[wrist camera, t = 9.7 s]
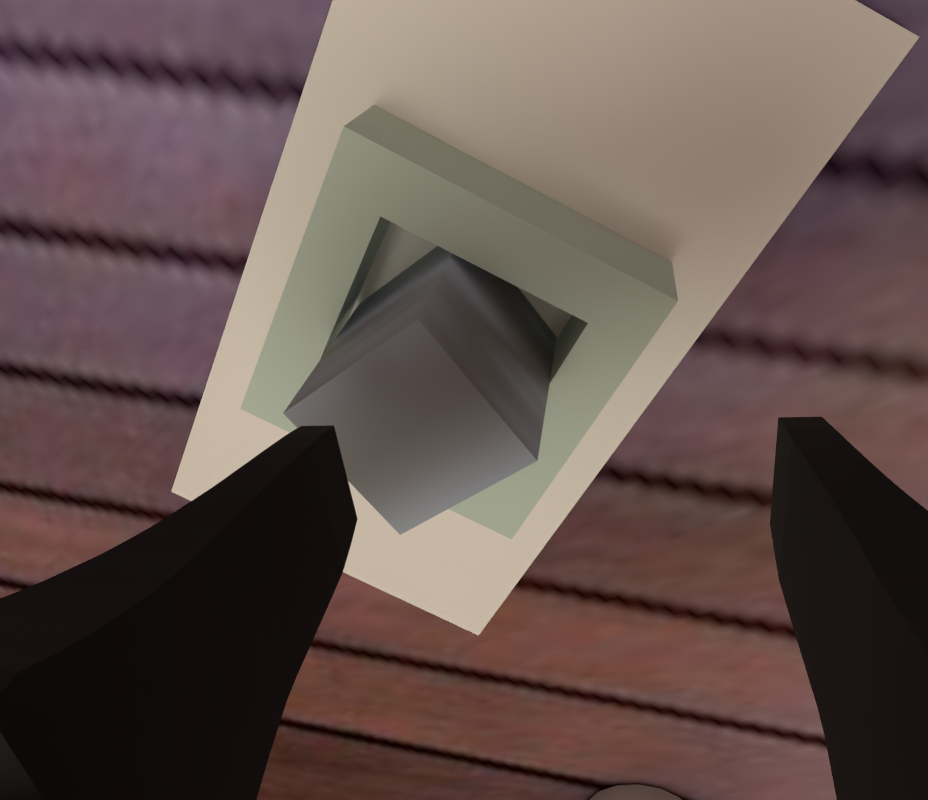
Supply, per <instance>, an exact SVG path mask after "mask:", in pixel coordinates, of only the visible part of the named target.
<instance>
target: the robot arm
mask: <svg viewBox="0 0 928 800" xmlns="http://www.w3.org/2000/svg"><path fill="white" fill-rule="evenodd" d="M357 520H358V519H357V515H356V511H355V507H354V503H353V499H352V495H351V491H350V487H349V483H348V479H347V475H346V471H345V467H344V463H343V459H342V455H341V451H340V447H339V443H338V439H337V435H336V431H335V427H334V425H327V426H300V427H299V428H297V429H295V430H293V431H292V432H290V433H289V434H287V435H285V436H284V437H283V438H281V439H280V440H278V441H277V442H275V443H274V444H272V445H271V446H270V447H268V448H267V449H265V450H264V451H263V452H261V453H260V454H258V455H257V456H256V457H254V458H253V459H251V460H250V461H249V462H247V463H246V464H244V465H243V466H242V467H240V468H239V469H237V470H236V471H235V472H233V473H232V474H230V475H229V476H228V477H226V478H225V479H223V480H222V481H221V482H219V483H218V484H216V485H215V486H214V487H212V488H211V489H209V490H208V491H206V492H205V493H203V494H201V495H200V496H198V497H197V498H195V499H194V500H192V501H191V502H189V503H188V504H186V505H185V506H183V507H182V508H180V509H179V510H177V511H176V512H174V513H173V514H171V515H170V516H168V517H166V518H165V519H163V520H162V521H160V522H158V523H157V524H155V525H153V526H152V527H150V528H148V529H147V530H145V531H143V532H141V533H140V534H138V535H136V536H134V537H132V538H131V539H129V540H127V541H125V542H123V543H121V544H120V545H118V546H116V547H114V548H112V549H110V550H108V551H106V552H105V553H103V554H101V555H99V556H97V557H94V558H92V559H90V560H88V561H86V562H84V563H82V564H79V565H77V566H75V567H73V568H71V569H69V570H67V571H64V572H62V573H60V574H58V575H56V576H54V577H51V578H49V579H47V580H45V581H43V582H40V583H38V584H36V585H33V586H31V587H28V588H26V589H23V590H21V591H18V592H16V593H13V594H11V595H8V596H6V597H3V598H0V800H256V799H257V795H258V792H259V789H260V785H261V782H262V778H263V775H264V771H265V768H266V764H267V761H268V758H269V754H270V751H271V748H272V745H273V742H274V739H275V736H276V732H277V729H278V726H279V723H280V720H281V717H282V714H283V711H284V708H285V704H286V702H287V699H288V696H289V694H290V691H291V689H292V686H293V684H294V681H295V679H296V676H297V674H298V672H299V669H300V667H301V665H302V663H303V661H304V658H305V656H306V654H307V652H308V649H309V647H310V645H311V643H312V640H313V638H314V636H315V634H316V632H317V629H318V627H319V625H320V623H321V620H322V618H323V616H324V614H325V611H326V609H327V607H328V605H329V602H330V600H331V598H332V595H333V593H334V591H335V589H336V586H337V584H338V582H339V579H340V577H341V575H342V572H343V570H344V567H345V563H346V560H347V557H348V553H349V550H350V546H351V543H352V539H353V535H354V531H355V527H356V523H357ZM770 526H771V532H772V539H773V545H774V552H775V558H776V564H777V570H778V576H779V581H780V584H781V588H782V591H783V595H784V598H785V601H786V605H787V608H788V612H789V615H790V618H791V622H792V625H793V628H794V631H795V635H796V638H797V641H798V645H799V648H800V651H801V654H802V658H803V661H804V664H805V668H806V671H807V674H808V677H809V681H810V684H811V687H812V691H813V694H814V697H815V700H816V704H817V707H818V711H819V715H820V719H821V723H822V727H823V731H824V734H825V739H826V744H827V750H828V755H829V760H830V765H831V771H832V776H833V781H834V786H835V792H836V797H837V800H928V511H927V510H926V509H925V508H924V507H922V506H921V505H920V504H919V503H917V502H916V501H915V500H914V499H912V498H911V497H910V496H909V495H907V494H906V493H905V492H904V491H903V490H901V489H900V488H899V487H898V486H897V485H896V484H894V483H893V482H892V481H891V480H890V479H889V478H887V477H886V476H885V475H884V474H883V473H882V472H881V471H879V470H878V469H877V468H876V467H875V466H874V465H873V464H872V463H871V462H870V461H868V460H867V459H866V458H865V457H864V456H863V455H862V454H861V453H860V452H859V451H858V450H857V449H856V448H854V447H853V446H852V445H851V444H850V443H849V442H848V441H847V440H846V439H845V438H844V437H843V436H842V435H841V434H840V433H839V432H837V431H836V430H835V429H834V428H833V427H832V426H831V425H830V424H829V423H828V422H827V421H826V420H825V419H823V418H822V417H784V418H778V430H777V443H776V456H775V468H774V481H773V493H772V506H771V518H770Z"/></svg>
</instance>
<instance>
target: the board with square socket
mask: <svg viewBox="0 0 928 800" xmlns="http://www.w3.org/2000/svg"><path fill="white" fill-rule="evenodd" d="M918 38H919V36H917V35H915V34H913V33H912V32H910V31H908V30H906V29H905V28H903V27H901V26H899V25H898V24H896V23H894V22H893V21H891V20H889V19H887V18H886V17H884V16H882V15H880V14H879V13H877V12H875V11H873V10H872V9H870V8H868V7H866V6H865V5H863V4H861V3H859V2H858V1H856V0H333V1H332V4H331V7H330V10H329V13H328V16H327V19H326V22H325V25H324V28H323V31H322V34H321V38H320V41H319V44H318V47H317V50H316V53H315V56H314V59H313V62H312V65H311V68H310V71H309V74H308V77H307V80H306V83H305V86H304V89H303V92H302V95H301V98H300V101H299V105H298V108H297V111H296V114H295V117H294V120H293V123H292V126H291V129H290V132H289V135H288V138H287V141H286V144H285V147H284V150H283V153H282V156H281V159H280V162H279V165H278V168H277V171H276V175H275V178H274V181H273V184H272V187H271V190H270V193H269V196H268V199H267V202H266V205H265V208H264V211H263V214H262V217H261V220H260V223H259V226H258V229H257V232H256V235H255V238H254V242H253V245H252V248H251V251H250V254H249V257H248V260H247V263H246V266H245V269H244V272H243V275H242V278H241V281H240V284H239V287H238V290H237V293H236V296H235V299H234V302H233V305H232V308H231V312H230V315H229V318H228V321H227V324H226V327H225V330H224V333H223V336H222V339H221V342H220V345H219V348H218V351H217V354H216V357H215V360H214V363H213V366H212V369H211V372H210V375H209V379H208V382H207V385H206V388H205V391H204V394H203V397H202V400H201V403H200V406H199V409H198V412H197V415H196V418H195V421H194V424H193V427H192V430H191V433H190V436H189V439H188V442H187V446H186V449H185V452H184V455H183V458H182V461H181V464H180V467H179V470H178V473H177V476H176V479H175V482H174V485H173V488H172V491H171V492H173V493H175V494H177V495H179V496H182V497H184V498H186V499H188V500H190V501H192V500H194V499H195V498H197V497H198V496H200V495H201V494H203V493H205V492H206V491H208V490H209V489H211V488H212V487H214V486H215V485H216V484H218V483H219V482H221V481H222V480H223V479H225V478H226V477H228V476H229V475H230V474H232V473H233V472H235V471H236V470H237V469H239V468H240V467H242V466H243V465H244V464H246V463H247V462H249V461H250V460H251V459H253V458H254V457H256V456H257V455H258V454H260V453H261V452H263V451H264V450H265V449H267V448H268V447H270V446H271V445H272V444H274V443H275V442H277V441H278V440H280V439H281V438H283V437H284V436H285V435H287V434H289V433H290V432H292V431H293V430H295V429H297V427H296V426H295V425H294V424H293V423H292V422H291V421H290V420H289V419H288V418H287V417H286V416H285V415H284V414H283V413H284V411H285V410H286V408H287V407H288V405H289V404H290V403H291V401H292V400H293V398H294V397H295V395H296V394H297V392H298V391H299V390H300V388H301V387H302V385H303V384H304V382H305V381H306V380H307V378H308V377H309V375H310V374H311V372H312V371H313V370H314V368H315V367H316V365H317V364H318V362H319V361H320V359H321V358H322V357H323V355H324V354H325V352H326V351H327V349H328V348H329V347H330V345H331V344H332V342H333V341H334V339H335V338H336V336H337V335H338V334H339V332H340V331H341V329H342V328H343V326H344V325H345V324H346V322H347V321H348V319H349V318H350V316H351V315H352V314H353V312H354V311H355V309H356V308H357V306H358V305H359V303H361V302H362V301H363V300H365V299H366V298H367V297H369V296H370V295H371V294H373V293H374V292H376V291H377V290H378V289H380V288H381V287H382V286H384V285H385V284H386V283H388V282H389V281H390V280H392V279H393V278H395V277H396V276H397V275H399V274H400V273H401V272H403V271H404V270H405V269H407V268H408V267H409V266H411V265H412V264H414V263H415V262H416V261H418V260H419V259H420V258H422V257H423V256H424V255H426V254H427V253H428V252H430V251H431V250H432V249H434V248H435V247H437V246H439V247H441V248H443V249H445V250H447V251H449V252H451V253H453V254H455V255H457V256H458V257H460V258H462V259H464V260H466V261H468V262H470V263H472V264H474V265H476V266H478V267H480V268H482V269H484V270H486V271H488V272H490V273H492V274H493V275H495V276H497V277H499V278H501V279H503V280H505V281H507V282H509V283H511V284H513V285H515V286H517V287H518V288H519V289H520V291H521V292H522V293H523V295H524V296H525V297H526V298H527V300H528V301H529V302H530V304H531V305H532V306H533V307H534V309H535V310H536V311H537V313H538V314H539V315H540V316H541V318H542V319H543V320H544V321H545V323H546V324H547V325H548V327H549V328H550V329H551V330H552V332H553V333H554V334H555V336H556V337H557V339H556V346H555V352H554V358H553V365H552V371H551V377H550V384H549V390H548V397H547V403H546V409H545V416H544V422H543V429H542V435H541V441H540V448H539V454H538V461H536V462H534V463H533V464H531V465H529V466H527V467H525V468H523V469H521V470H520V471H518V472H516V473H514V474H512V475H510V476H508V477H507V478H505V479H503V480H501V481H499V482H497V483H496V484H494V485H492V486H490V487H488V488H486V489H484V490H483V491H481V492H479V493H477V494H475V495H473V496H471V497H470V498H468V499H466V500H464V501H462V502H460V503H458V504H457V505H455V506H453V507H451V508H449V509H447V510H446V511H444V512H442V513H440V514H438V515H436V516H434V517H433V518H431V519H429V520H427V521H425V522H423V523H421V524H420V525H418V526H416V527H414V528H412V529H410V530H408V531H407V532H405V533H403V534H401V535H400V534H399V533H398V532H397V531H396V530H395V529H394V528H393V527H392V526H391V525H390V524H389V523H388V522H387V521H386V520H385V519H384V518H383V517H382V516H381V515H380V514H379V512H378V511H377V510H376V509H375V508H374V507H373V506H372V505H371V504H370V503H369V502H368V501H367V500H366V499H365V498H364V497H363V496H362V495H361V494H360V493H359V492H358V491H357V490H356V489H355V488H354V486H353V485H352V484H351V483H350V482H349V481H348V483H349V487H350V491H351V495H352V499H353V503H354V507H355V511H356V515H357V519H358V520H357V523H356V527H355V531H354V535H353V539H352V543H351V546H350V550H349V553H348V557H347V560H346V563H345V567H344V570H343V572H344V573H346V574H348V575H350V576H353V577H355V578H357V579H359V580H361V581H363V582H365V583H368V584H370V585H372V586H374V587H376V588H378V589H380V590H382V591H385V592H387V593H389V594H391V595H393V596H395V597H397V598H400V599H402V600H404V601H406V602H408V603H410V604H412V605H415V606H417V607H419V608H421V609H423V610H425V611H427V612H430V613H432V614H434V615H436V616H438V617H440V618H442V619H444V620H447V621H449V622H451V623H453V624H455V625H457V626H459V627H462V628H464V629H466V630H468V631H470V632H472V633H474V634H477V635H479V634H480V633H481V631H482V630H483V629H484V627H485V626H486V625H487V623H488V622H489V621H490V619H491V618H492V616H493V615H494V614H495V612H496V611H497V610H498V608H499V607H500V606H501V604H502V603H503V602H504V600H505V599H506V597H507V596H508V595H509V593H510V592H511V591H512V589H513V588H514V587H515V585H516V584H517V583H518V581H519V580H520V578H521V577H522V576H523V574H524V573H525V572H526V570H527V569H528V568H529V566H530V565H531V564H532V562H533V561H534V559H535V558H536V557H537V555H538V554H539V553H540V551H541V550H542V549H543V547H544V546H545V545H546V543H547V542H548V540H549V539H550V538H551V536H552V535H553V534H554V532H555V531H556V530H557V528H558V527H559V526H560V524H561V523H562V521H563V520H564V519H565V517H566V516H567V515H568V513H569V512H570V511H571V509H572V508H573V507H574V505H575V504H576V502H577V501H578V500H579V498H580V497H581V496H582V494H583V493H584V492H585V490H586V489H587V488H588V486H589V485H590V483H591V482H592V481H593V479H594V478H595V477H596V475H597V474H598V473H599V471H600V470H601V469H602V467H603V466H604V464H605V463H606V462H607V460H608V459H609V458H610V456H611V455H612V454H613V452H614V451H615V450H616V448H617V447H618V445H619V444H620V443H621V441H622V440H623V439H624V437H625V436H626V435H627V433H628V432H629V431H630V429H631V428H632V426H633V425H634V424H635V422H636V421H637V420H638V418H639V417H640V416H641V414H642V413H643V412H644V410H645V409H646V407H647V406H648V405H649V403H650V402H651V401H652V399H653V398H654V397H655V395H656V394H657V393H658V391H659V390H660V388H661V387H662V386H663V384H664V383H665V382H666V380H667V379H668V378H669V376H670V375H671V374H672V372H673V371H674V369H675V368H676V367H677V365H678V364H679V363H680V361H681V360H682V359H683V357H684V356H685V355H686V353H687V352H688V350H689V349H690V348H691V346H692V345H693V344H694V342H695V341H696V340H697V338H698V337H699V336H700V334H701V333H702V331H703V330H704V329H705V327H706V326H707V325H708V323H709V322H710V321H711V319H712V318H713V317H714V315H715V314H716V312H717V311H718V310H719V308H720V307H721V306H722V304H723V303H724V302H725V300H726V299H727V298H728V296H729V295H730V293H731V292H732V291H733V289H734V288H735V287H736V285H737V284H738V283H739V281H740V280H741V279H742V277H743V276H744V274H745V273H746V272H747V270H748V269H749V268H750V266H751V265H752V264H753V262H754V261H755V260H756V258H757V257H758V255H759V254H760V253H761V251H762V250H763V249H764V247H765V246H766V245H767V243H768V242H769V241H770V239H771V238H772V236H773V235H774V234H775V232H776V231H777V230H778V228H779V227H780V226H781V224H782V223H783V222H784V220H785V219H786V217H787V216H788V215H789V213H790V212H791V211H792V209H793V208H794V207H795V205H796V204H797V203H798V201H799V200H800V198H801V197H802V196H803V194H804V193H805V192H806V190H807V189H808V188H809V186H810V185H811V184H812V182H813V181H814V179H815V178H816V177H817V175H818V174H819V173H820V171H821V170H822V169H823V167H824V166H825V165H826V163H827V162H828V160H829V159H830V158H831V156H832V155H833V154H834V152H835V151H836V150H837V148H838V147H839V146H840V144H841V143H842V141H843V140H844V139H845V137H846V136H847V135H848V133H849V132H850V131H851V129H852V128H853V127H854V125H855V124H856V122H857V121H858V120H859V118H860V117H861V116H862V114H863V113H864V112H865V110H866V109H867V108H868V106H869V105H870V103H871V102H872V101H873V99H874V98H875V97H876V95H877V94H878V93H879V91H880V90H881V89H882V87H883V86H884V84H885V83H886V82H887V80H888V79H889V78H890V76H891V75H892V74H893V72H894V71H895V70H896V68H897V67H898V65H899V64H900V63H901V61H902V60H903V59H904V57H905V56H906V55H907V53H908V52H909V51H910V49H911V48H912V47H913V45H914V44H915V42H916V41H917V40H918Z"/></svg>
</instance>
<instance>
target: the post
mask: <svg viewBox="0 0 928 800" xmlns="http://www.w3.org/2000/svg"><path fill="white" fill-rule="evenodd" d="M556 339H557V337H556V336H555V334H554V333H553V332H552V330H551V329H550V328H549V327H548V325H547V324H546V323H545V321H544V320H543V319H542V318H541V316H540V315H539V314H538V313H537V311H536V310H535V309H534V307H533V306H532V305H531V304H530V302H529V301H528V300H527V298H526V297H525V296H524V295H523V293H522V292H521V291H520V289H519V288H518V287H517V286H515V285H513V284H511V283H509V282H507V281H505V280H503V279H501V278H499V277H497V276H495V275H493V274H492V273H490V272H488V271H486V270H484V269H482V268H480V267H478V266H476V265H474V264H472V263H470V262H468V261H466V260H464V259H462V258H460V257H458V256H457V255H455V254H453V253H451V252H449V251H447V250H445V249H443V248H441V247H439V246H437V247H435V248H434V249H432V250H431V251H430V252H428V253H427V254H426V255H424V256H423V257H422V258H420V259H419V260H418V261H416V262H415V263H414V264H412V265H411V266H409V267H408V268H407V269H405V270H404V271H403V272H401V273H400V274H399V275H397V276H396V277H395V278H393V279H392V280H390V281H389V282H388V283H386V284H385V285H384V286H382V287H381V288H380V289H378V290H377V291H376V292H374V293H373V294H371V295H370V296H369V297H367V298H366V299H365V300H363V301H362V302H361V303H359V305H358V306H357V308H356V309H355V311H354V312H353V314H352V315H351V316H350V318H349V319H348V321H347V322H346V324H345V325H344V326H343V328H342V329H341V331H340V332H339V334H338V335H337V336H336V338H335V339H334V341H333V342H332V344H331V345H330V347H329V348H328V349H327V351H326V352H325V354H324V355H323V357H322V358H321V359H320V361H319V362H318V364H317V365H316V367H315V368H314V370H313V371H312V372H311V374H310V375H309V377H308V378H307V380H306V381H305V382H304V384H303V385H302V387H301V388H300V390H299V391H298V392H297V394H296V395H295V397H294V398H293V400H292V401H291V403H290V404H289V405H288V407H287V408H286V410H285V411H284V413H283V414H284V415H285V416H286V417H287V418H288V419H289V420H290V421H291V422H292V423H293V424H294V425H295V426H296V427H297V428H299V427H300V426H327V425H334V427H335V431H336V435H337V439H338V443H339V447H340V451H341V455H342V459H343V463H344V467H345V471H346V475H347V479H348V481H349V482H350V483H351V484H352V485H353V486H354V488H355V489H356V490H357V491H358V492H359V493H360V494H361V495H362V496H363V497H364V498H365V499H366V500H367V501H368V502H369V503H370V504H371V505H372V506H373V507H374V508H375V509H376V510H377V511H378V512H379V514H380V515H381V516H382V517H383V518H384V519H385V520H386V521H387V522H388V523H389V524H390V525H391V526H392V527H393V528H394V529H395V530H396V531H397V532H398V533H399V534H400V535H401V534H403V533H405V532H407V531H408V530H410V529H412V528H414V527H416V526H418V525H420V524H421V523H423V522H425V521H427V520H429V519H431V518H433V517H434V516H436V515H438V514H440V513H442V512H444V511H446V510H447V509H449V508H451V507H453V506H455V505H457V504H458V503H460V502H462V501H464V500H466V499H468V498H470V497H471V496H473V495H475V494H477V493H479V492H481V491H483V490H484V489H486V488H488V487H490V486H492V485H494V484H496V483H497V482H499V481H501V480H503V479H505V478H507V477H508V476H510V475H512V474H514V473H516V472H518V471H520V470H521V469H523V468H525V467H527V466H529V465H531V464H533V463H534V462H536V461H538V454H539V448H540V441H541V435H542V429H543V422H544V416H545V409H546V403H547V397H548V390H549V384H550V377H551V371H552V365H553V358H554V352H555V346H556Z"/></svg>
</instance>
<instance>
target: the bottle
mask: <svg viewBox="0 0 928 800" xmlns="http://www.w3.org/2000/svg"><path fill="white" fill-rule="evenodd" d="M590 800H682V799H681V798H679V797H677V796H675V795H673V794H671V793H669V792H667V791H665V790H663V789H660V788H655V787H650V786H645V785H640V784H634V785H616V786H613V787H610V788H607V789H604V790H601V791H599V792H598V793H596V794H595V795H594V796H593V797H592V798H591V799H590Z"/></svg>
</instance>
